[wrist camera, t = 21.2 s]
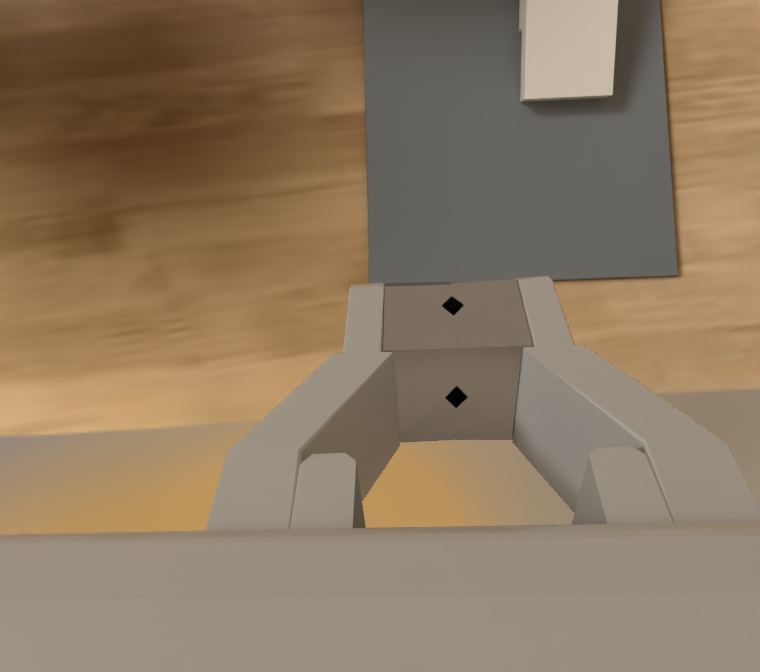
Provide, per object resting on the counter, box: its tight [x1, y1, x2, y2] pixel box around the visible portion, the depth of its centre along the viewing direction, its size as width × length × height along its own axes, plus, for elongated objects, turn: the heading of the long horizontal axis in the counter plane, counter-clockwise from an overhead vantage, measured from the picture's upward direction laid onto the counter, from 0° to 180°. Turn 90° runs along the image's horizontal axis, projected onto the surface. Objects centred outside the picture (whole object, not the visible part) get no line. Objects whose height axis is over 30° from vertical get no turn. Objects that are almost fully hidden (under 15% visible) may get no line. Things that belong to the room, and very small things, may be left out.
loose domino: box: [520, 0, 618, 102], centre depth 35 cm, size 5×2×10 cm
